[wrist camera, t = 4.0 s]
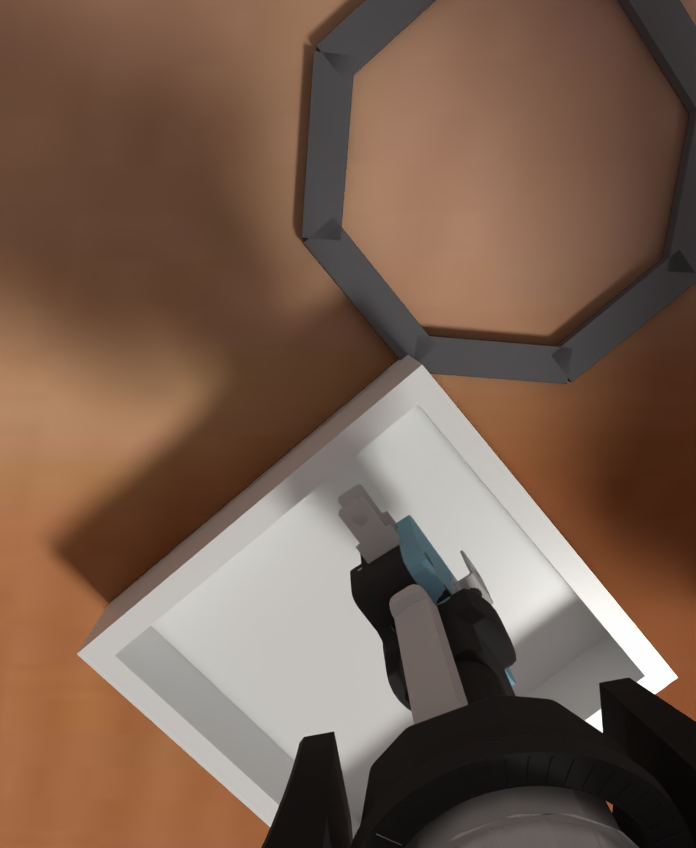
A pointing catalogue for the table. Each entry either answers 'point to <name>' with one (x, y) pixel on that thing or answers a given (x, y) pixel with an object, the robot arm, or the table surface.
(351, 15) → the seat ring
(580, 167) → the table surface
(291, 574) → the tray
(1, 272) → the table surface
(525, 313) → the table surface
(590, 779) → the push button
